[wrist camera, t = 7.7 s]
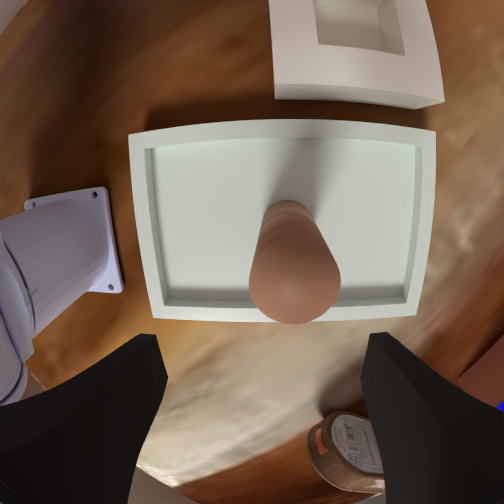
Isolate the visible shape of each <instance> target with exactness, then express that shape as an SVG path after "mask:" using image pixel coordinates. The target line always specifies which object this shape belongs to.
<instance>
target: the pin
mask: <svg viewBox="0 0 504 504" xmlns="http://www.w3.org/2000/svg"><path fill="white" fill-rule="evenodd" d="M340 286H341V276H340V271H339V268H338V265H337V263H336V261H335V259H334V257H333V255H332V253H331V251H330V249H329V247H328V246H327V244H326V242H325V240H324V238H323V236H322V234H321V232H320V230H319V229H318V227H317V225H316V223H315V221H314V219H313V217H312V216H311V214H310V212H309V211H308V209H307V208H306V207H305V206H304V205H302V204H301V203H299V202H297V201H293V200H282V201H278V202H276V203H274V204H273V205H271V206H270V207H269V208H268V209H267V211H266V212H265V214H264V216H263V219H262V224H261V228H260V232H259V237H258V241H257V245H256V250H255V254H254V258H253V262H252V267H251V271H250V276H249V291H250V295H251V298H252V300H253V302H254V304H255V305H256V307H257V308H258V309H259V310H260V311H261V312H262V313H263V314H264V315H266V316H267V317H269V318H271V319H273V320H275V321H278V322H281V323H286V324H301V323H306V322H309V321H312V320H314V319H316V318H318V317H320V316H321V315H323V314H324V313H325V312H327V311H328V310H329V309H330V308H331V306H332V305H333V304H334V302H335V301H336V299H337V296H338V294H339V291H340Z"/></svg>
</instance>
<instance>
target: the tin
mask: <svg viewBox="0 0 504 504" xmlns="http://www.w3.org/2000/svg"><path fill="white" fill-rule="evenodd" d="M307 451H308V455H309V458H310V460H311V462H312V464H313V466H314V468H315V469H316V471H317V472H318V473H319V474H320V475H321V476H322V477H323V478H324V479H325V480H326V481H327V482H329V483H330V484H331V485H333V486H335V487H337V488H339V489H342V490H347V491H355V492H366V493H382V494H385V483H384V474H383V467H382V461H381V457H380V452H379V449H378V445H377V442H376V439H375V435H374V432H373V428H372V425H371V422H370V419H369V418H367V417H364V416H361V415H358V414H355V413H352V412H349V411H336V412H333V413H331V414H330V415H328V416H327V417H326V418H325V419H323V420H322V421H321V422H320V423H319V424H316V425H315V426H313V427H312V428H311V430H310V431H309V433H308V436H307Z"/></svg>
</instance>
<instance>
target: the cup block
mask: <svg viewBox="0 0 504 504" xmlns="http://www.w3.org/2000/svg"><path fill="white" fill-rule="evenodd" d="M268 1H269V13H270V27H271V41H272V56H273V73H274V92H275V100H327V101H344V102H356V103H367V104H376V105H384V106H391V107H398V108H405V109H411V110H415V109H418V108H422V107H426V106H430V105H434V104H438V103H443V102H444V92H443V83H442V76H441V69H440V63H439V57H438V52H437V46H436V42H435V37H434V32H433V28H432V24H431V20H430V16H429V13H428V9H427V6H426V2H425V0H268Z"/></svg>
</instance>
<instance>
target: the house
mask: <svg viewBox="0 0 504 504" xmlns="http://www.w3.org/2000/svg"><path fill="white" fill-rule="evenodd" d="M457 381H458V383H459V384H460V386H461V388H462V389H463V391H465V392H466V393H468V394H470V395H471V396H473V397H475V398H477V399H478V400H480V401H482V402H484V403H486V404H488V405H491V406H493V407H495V408H497V409H499V410H502V411H504V334H503V335H502V336H501V337H500V338H499V340H498V341H497V342H496V343H495V344H494V345H493V346H492V347H491V348H490V349H489V350H488V351H487V352H486V353H485V354H484V355H483V356H482V357H481V358H480V359H479V360H478V361H477V362H476V363H474V364H473V365H472V366H471V367H470V368H469V369H468V370H467V371H466V372H465V373H463V374H462V375H461V376H460V377H459V378H458V379H457Z"/></svg>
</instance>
